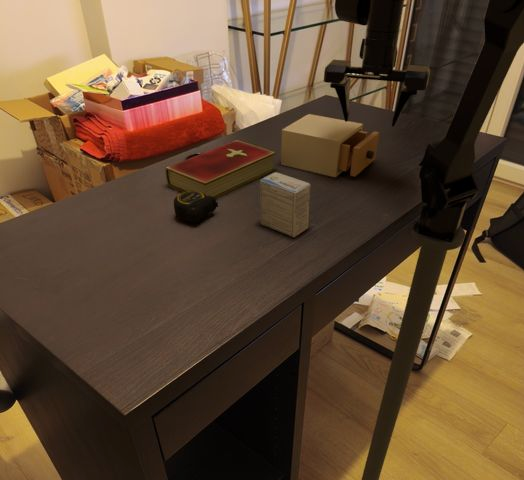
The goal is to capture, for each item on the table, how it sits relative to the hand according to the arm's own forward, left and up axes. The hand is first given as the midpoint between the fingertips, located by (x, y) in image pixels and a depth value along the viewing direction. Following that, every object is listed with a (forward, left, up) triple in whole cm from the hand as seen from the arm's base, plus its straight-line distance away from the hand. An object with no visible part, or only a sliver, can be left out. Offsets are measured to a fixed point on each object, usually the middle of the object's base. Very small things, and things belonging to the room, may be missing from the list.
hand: (369, 123), depth 94 cm
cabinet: (+12, -5, -12) cm, 17 cm away
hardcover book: (+26, +14, -12) cm, 32 cm away
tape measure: (+20, +31, -12) cm, 39 cm away
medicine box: (+4, +26, -12) cm, 29 cm away
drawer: (+7, -4, -11) cm, 13 cm away
